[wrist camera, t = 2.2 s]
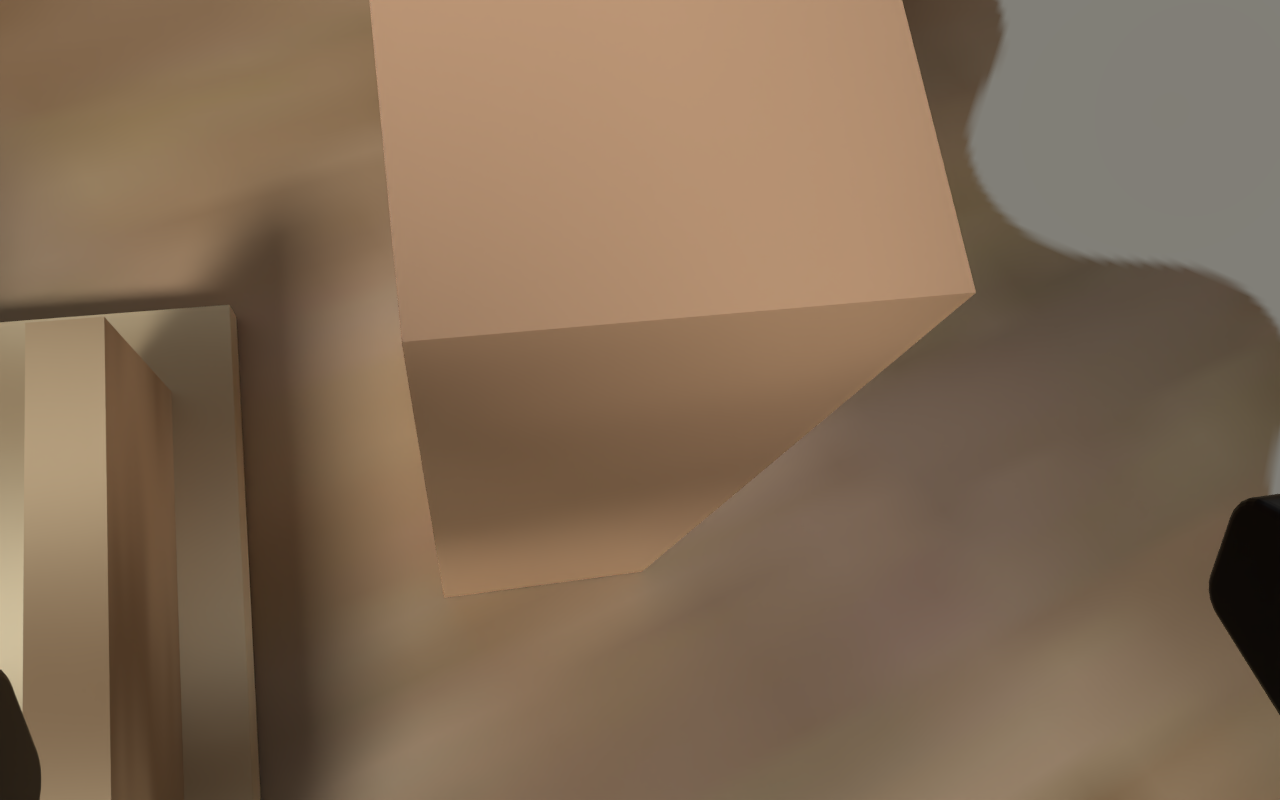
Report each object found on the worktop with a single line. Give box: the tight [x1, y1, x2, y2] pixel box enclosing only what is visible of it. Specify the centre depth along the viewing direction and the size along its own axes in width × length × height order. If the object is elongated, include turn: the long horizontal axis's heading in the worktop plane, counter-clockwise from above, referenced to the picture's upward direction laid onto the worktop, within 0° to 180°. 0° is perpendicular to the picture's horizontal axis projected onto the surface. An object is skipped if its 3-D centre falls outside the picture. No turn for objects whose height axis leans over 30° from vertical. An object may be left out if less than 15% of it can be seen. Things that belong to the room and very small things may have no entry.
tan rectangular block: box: [370, 0, 976, 598], centre depth 13 cm, size 4×5×13 cm
